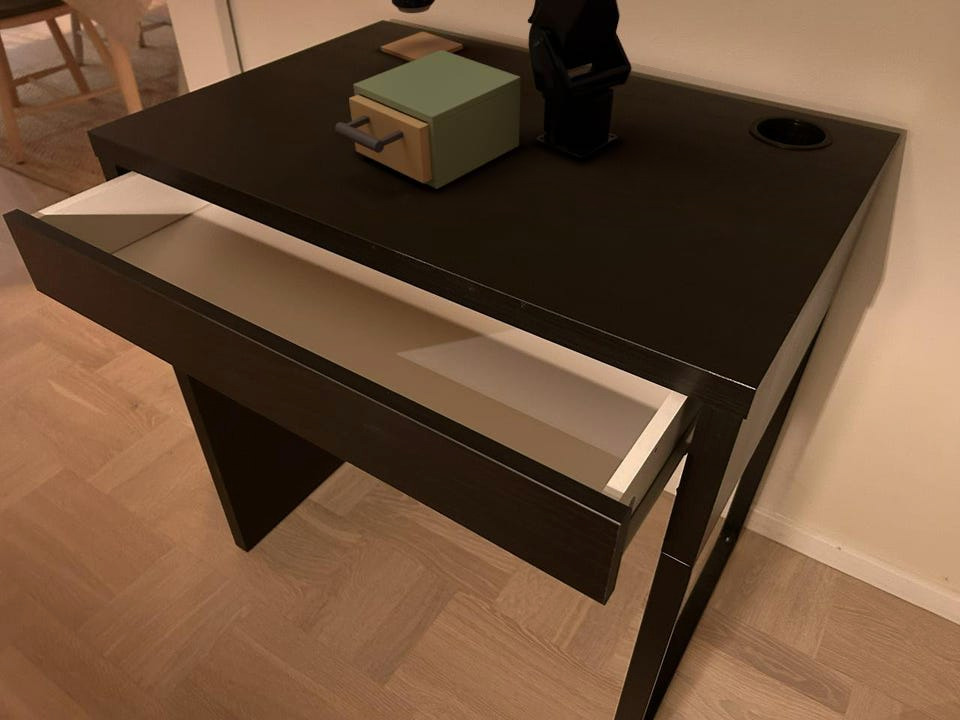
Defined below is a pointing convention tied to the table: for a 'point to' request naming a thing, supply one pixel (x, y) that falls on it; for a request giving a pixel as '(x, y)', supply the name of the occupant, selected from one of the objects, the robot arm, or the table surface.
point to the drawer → (389, 137)
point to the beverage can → (413, 5)
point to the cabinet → (453, 109)
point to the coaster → (420, 46)
